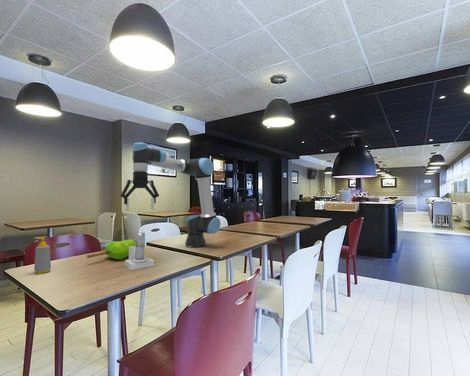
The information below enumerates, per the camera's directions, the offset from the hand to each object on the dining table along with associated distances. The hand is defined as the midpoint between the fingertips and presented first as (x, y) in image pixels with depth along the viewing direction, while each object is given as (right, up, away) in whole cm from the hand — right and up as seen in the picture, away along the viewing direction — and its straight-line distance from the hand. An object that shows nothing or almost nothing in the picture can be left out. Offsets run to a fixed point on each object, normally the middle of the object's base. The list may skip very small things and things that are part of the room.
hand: (140, 210), depth 142 cm
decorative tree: (-21, -31, +15) cm, 41 cm away
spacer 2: (0, -27, 0) cm, 27 cm away
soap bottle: (-46, -31, -10) cm, 56 cm away
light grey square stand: (-1, -31, +1) cm, 31 cm away
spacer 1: (0, -20, 0) cm, 20 cm away
